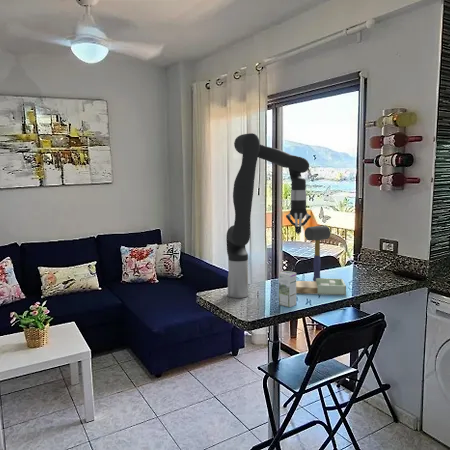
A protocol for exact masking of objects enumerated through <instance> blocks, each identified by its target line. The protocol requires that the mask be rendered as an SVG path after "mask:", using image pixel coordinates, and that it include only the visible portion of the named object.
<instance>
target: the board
mask: <svg viewBox="0 0 450 450" xmlns="http://www.w3.org/2000/svg"><path fill="white" fill-rule="evenodd" d="M317 292H318V287H317V283H316V281H313V280H312V281H311V280H296V294H310V295H311V294H312V295H313V294H314V295H315V294H316V295H318V294H317Z"/></svg>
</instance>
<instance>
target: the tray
mask: <svg viewBox="0 0 450 450" xmlns="http://www.w3.org/2000/svg"><path fill="white" fill-rule="evenodd" d="M329 280H334V281H335V285H320V283H329ZM316 283H317V287H318V292H317V294H316V295H322V296H323V295H324V296H325V295H326V296H329V295H330V296H332V295H333V296H346V295H347V285H346V282H345V281H344V279H343V278H327V277H326V278H321V277H320V278H316Z"/></svg>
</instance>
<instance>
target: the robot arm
mask: <svg viewBox="0 0 450 450" xmlns="http://www.w3.org/2000/svg"><path fill="white" fill-rule="evenodd" d="M233 144H234V145H233V146H234V149H235V150H236V151H237V153H239V154H241V155H242V157H241V160H242V161H241V165H240V168H239V170H238V172H237V174H236V177H235V180H234V183H233V188H232V189H233V192H232V202H233V209H234V223H233V225H231V226H230V227H229V228H228V229H227V231H226V235H225V236H226V254H227V257H228V259H227V261H228V262H227V263H228V264H227V265H228V267H227V268H228V276H227V297H228V298H234V299H242V298H247V297H248V296H249V255H248V252H247V249H246V245H248V243H249V241H250V239H251V214H252V206H253V198H254V189H255V188H254V187H255V177H256V169H257V168H256V167H257V162H258V159H261V160H264V161H267V162H269V163H272V164H274V165H277V166H279V167H281V168H286V169H287V168H288V172H289V177H290V181H291V184H290V185H291V191H290V211H289V213H288V214H286V215H285V218H286V219H287V220H288V222H289V223H290V225H292V226H294V233H295V234H297V235H300V234H301V233H302V227H303V226H305V225H306V224H307V223H308V221H309V220H310V219H311V218H312V215H311V214H309V213H308V211H307V191H306V189H307V181H306V179H305V178H303V177H302V174H303V173H306V172H308V171H309V168H310V163H309V161H308V160H307V159H306V158H304V157H301V156H297V155H294V154H293V155H292V154H290V153H288V152H286V151H283V150H281V149H278V148H275V147H270V146H268V145H267V146H266V145H263V144H261V142H260V139H259V137H258V135H257V134H255V133H252V132H251V133H244V134H240V135H238V136H236V138H235V139H234V142H233ZM292 218H293V219H294V221H293V219H292ZM304 218H305V219H304ZM303 219H304V220H303ZM298 221H299V222H298ZM302 221H303V222H302Z"/></svg>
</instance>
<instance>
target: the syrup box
mask: <svg viewBox="0 0 450 450" xmlns="http://www.w3.org/2000/svg"><path fill="white" fill-rule="evenodd" d="M296 281H297V272H294V271H288V270H282V271H280V272H278V305H279V306H282V307H286V308H291V307H294V306H296V305H297V293H296Z"/></svg>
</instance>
